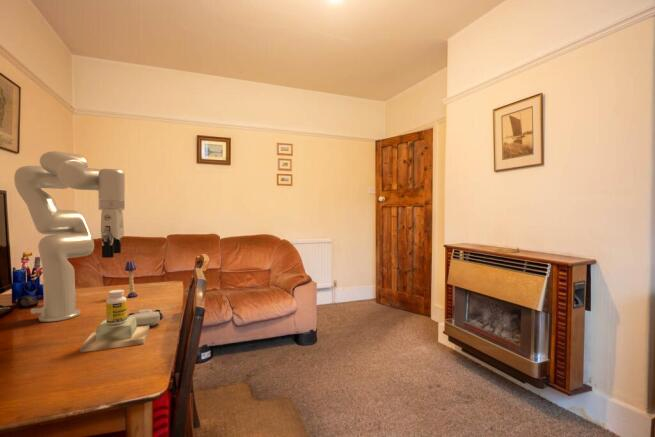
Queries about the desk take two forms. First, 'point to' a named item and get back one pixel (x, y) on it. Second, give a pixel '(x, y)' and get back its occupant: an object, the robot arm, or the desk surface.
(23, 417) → the desk surface
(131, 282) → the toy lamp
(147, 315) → the robot toy
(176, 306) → the desk surface
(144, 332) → the base board
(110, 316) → the supplement bottle
